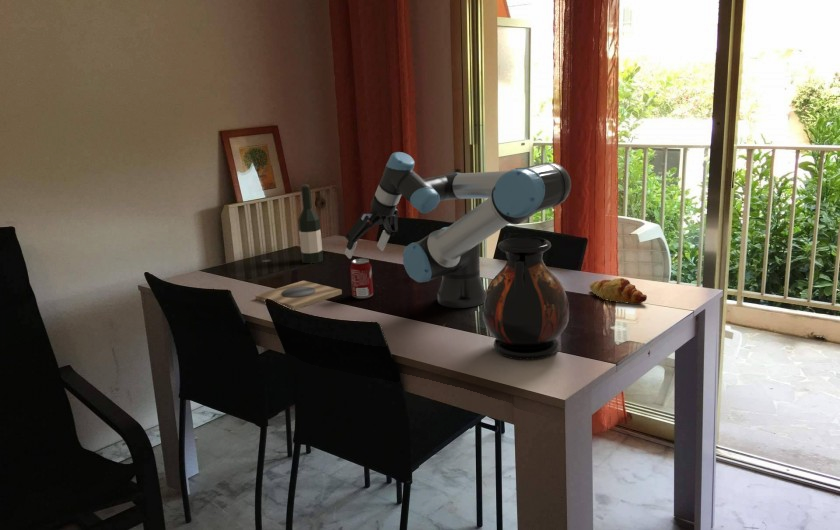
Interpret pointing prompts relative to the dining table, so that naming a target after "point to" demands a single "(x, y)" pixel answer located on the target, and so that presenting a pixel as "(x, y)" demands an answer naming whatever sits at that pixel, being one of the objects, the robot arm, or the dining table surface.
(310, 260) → the wine bottle
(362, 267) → the soda can
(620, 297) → the croissant
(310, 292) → the oak board
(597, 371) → the dining table surface
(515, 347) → the ceramic vase
